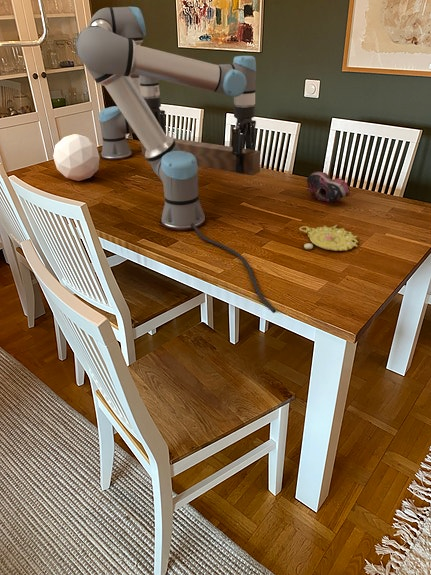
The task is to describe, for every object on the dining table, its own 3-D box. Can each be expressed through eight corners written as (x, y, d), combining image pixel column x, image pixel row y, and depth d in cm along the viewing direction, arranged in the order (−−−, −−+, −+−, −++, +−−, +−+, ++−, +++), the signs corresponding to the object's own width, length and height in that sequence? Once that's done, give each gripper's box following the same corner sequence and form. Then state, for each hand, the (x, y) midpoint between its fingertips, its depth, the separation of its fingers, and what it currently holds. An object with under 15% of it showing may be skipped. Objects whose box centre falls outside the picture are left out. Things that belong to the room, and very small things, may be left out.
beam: (260, 171, 168) (260, 150, 163) (252, 175, 164) (253, 154, 160) (150, 153, 193) (148, 134, 189) (142, 156, 190) (140, 137, 185)
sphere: (86, 196, 198) (71, 170, 180) (54, 175, 203) (36, 147, 184) (114, 167, 203) (101, 138, 185) (82, 146, 208) (67, 116, 189)
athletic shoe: (315, 170, 179) (291, 178, 175) (351, 165, 160) (325, 173, 156) (321, 198, 182) (297, 206, 178) (356, 196, 163) (330, 204, 159)
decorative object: (343, 255, 128) (285, 234, 139) (342, 262, 130) (284, 241, 140) (372, 230, 142) (317, 213, 152) (371, 237, 143) (316, 219, 153)
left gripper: (142, 101, 168) (149, 162, 180) (172, 93, 181) (176, 150, 193) (127, 99, 171) (135, 159, 184) (158, 92, 184) (163, 148, 197)
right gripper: (248, 100, 164) (247, 162, 176) (221, 109, 151) (222, 175, 163) (266, 101, 160) (263, 165, 173) (240, 111, 147) (239, 178, 160)
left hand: (156, 154), depth 189 cm, fingers closed on beam, 5 cm apart
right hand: (243, 170), depth 168 cm, fingers closed on beam, 5 cm apart
